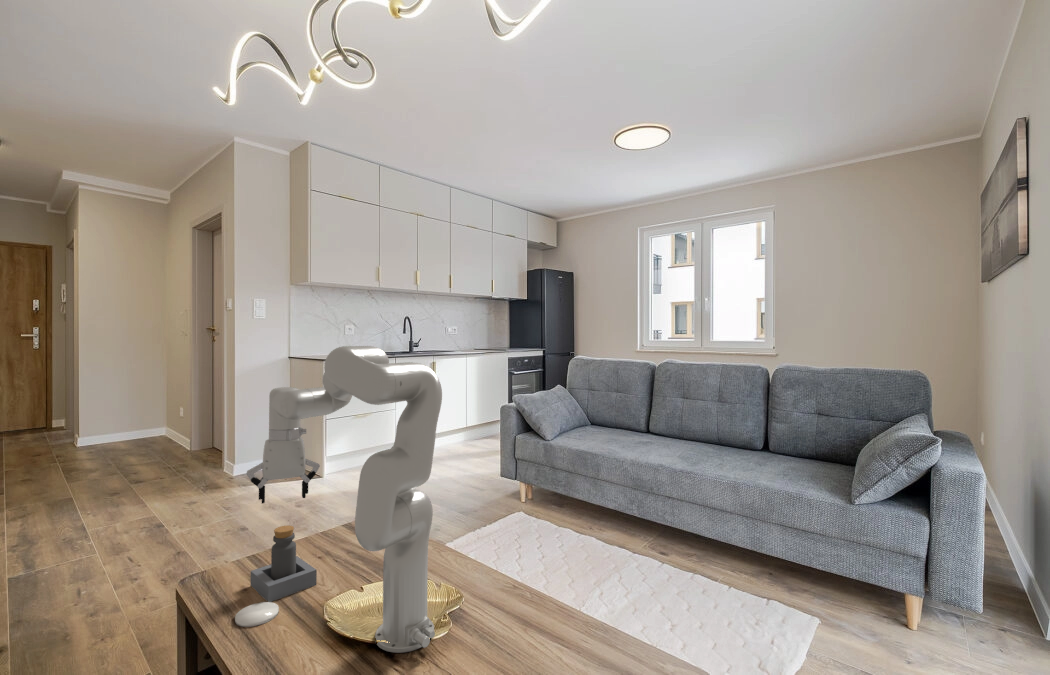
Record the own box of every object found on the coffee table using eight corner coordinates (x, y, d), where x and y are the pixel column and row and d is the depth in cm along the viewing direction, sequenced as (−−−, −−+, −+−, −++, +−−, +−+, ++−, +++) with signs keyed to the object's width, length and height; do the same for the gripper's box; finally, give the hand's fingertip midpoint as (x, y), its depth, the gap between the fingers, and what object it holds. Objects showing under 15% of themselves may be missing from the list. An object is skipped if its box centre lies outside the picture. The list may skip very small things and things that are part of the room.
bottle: (289, 591, 127) (289, 533, 127) (266, 590, 127) (267, 532, 127) (299, 580, 132) (300, 524, 132) (278, 579, 132) (278, 524, 133)
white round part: (285, 615, 116) (285, 611, 116) (243, 631, 109) (243, 628, 109) (269, 601, 122) (269, 597, 122) (229, 616, 115) (229, 612, 115)
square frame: (316, 584, 130) (316, 569, 130) (268, 602, 121) (268, 586, 121) (296, 570, 138) (296, 556, 138) (250, 586, 129) (250, 570, 129)
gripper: (318, 429, 137) (317, 490, 137) (247, 434, 129) (246, 499, 129) (321, 434, 130) (320, 498, 130) (246, 440, 122) (245, 508, 122)
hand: (283, 499), depth 130 cm, fingers open, 9 cm apart
